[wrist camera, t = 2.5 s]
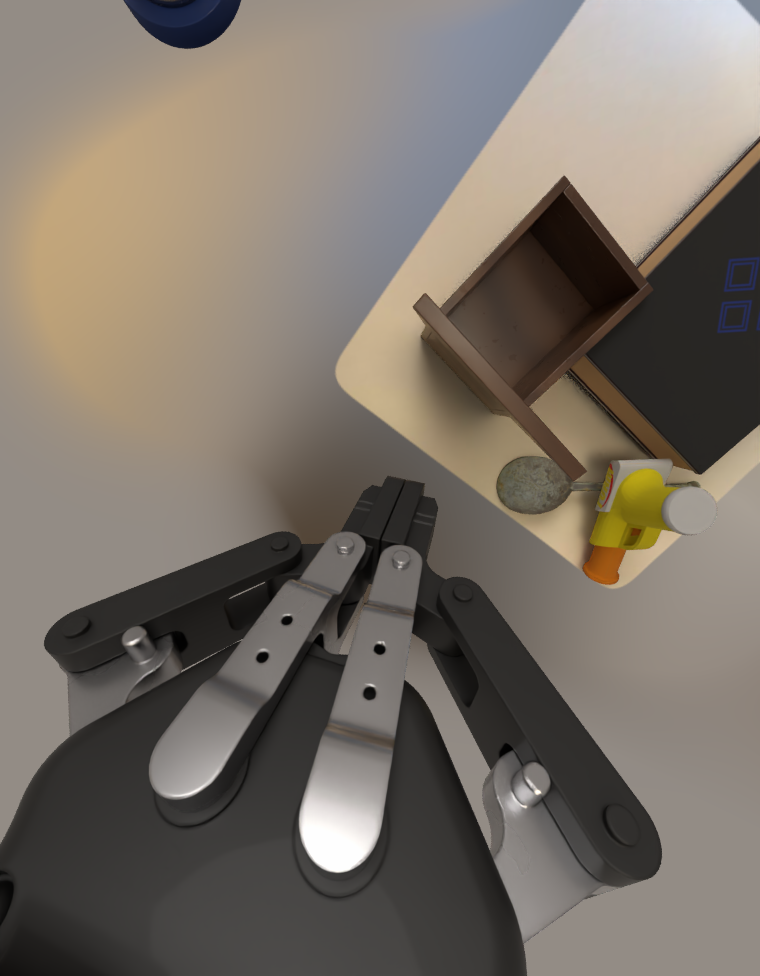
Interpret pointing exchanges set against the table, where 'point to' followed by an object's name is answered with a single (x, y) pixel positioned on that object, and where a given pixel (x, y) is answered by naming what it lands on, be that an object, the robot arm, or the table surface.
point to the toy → (642, 513)
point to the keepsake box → (543, 297)
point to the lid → (496, 386)
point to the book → (691, 332)
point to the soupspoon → (541, 485)
